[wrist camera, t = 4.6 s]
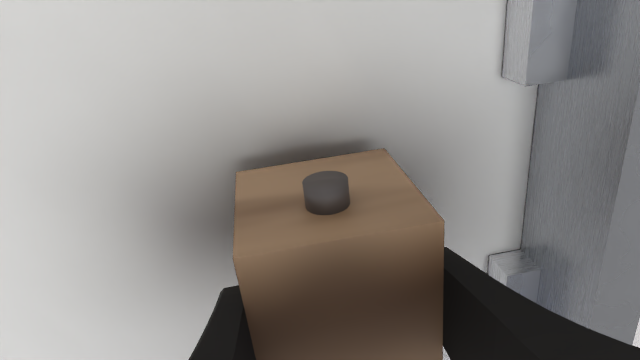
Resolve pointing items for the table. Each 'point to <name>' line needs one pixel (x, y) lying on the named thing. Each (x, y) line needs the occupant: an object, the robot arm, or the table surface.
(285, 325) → the cabinet
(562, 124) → the grey metal bar
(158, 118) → the table surface
